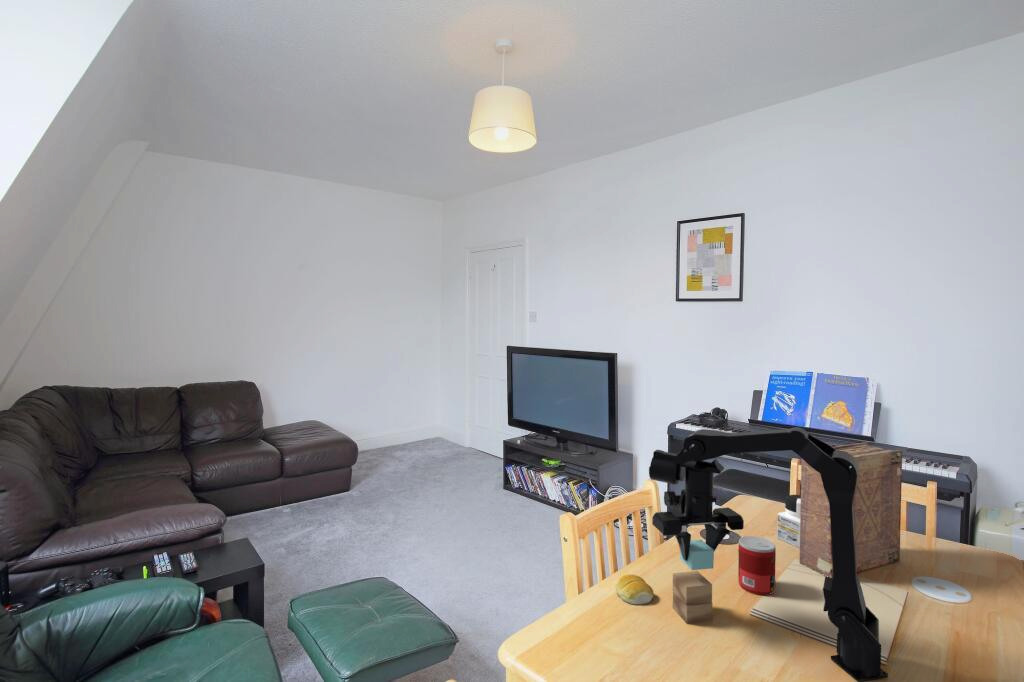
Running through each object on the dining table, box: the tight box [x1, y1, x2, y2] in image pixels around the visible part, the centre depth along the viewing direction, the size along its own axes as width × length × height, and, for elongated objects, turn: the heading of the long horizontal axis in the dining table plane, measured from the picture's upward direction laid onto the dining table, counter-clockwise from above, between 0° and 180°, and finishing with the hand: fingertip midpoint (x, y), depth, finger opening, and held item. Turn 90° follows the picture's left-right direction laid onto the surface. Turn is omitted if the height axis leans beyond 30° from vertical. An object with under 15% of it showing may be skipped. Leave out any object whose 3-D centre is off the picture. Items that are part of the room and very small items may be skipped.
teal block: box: [679, 539, 715, 571], centre depth 111 cm, size 5×5×4 cm
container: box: [776, 494, 801, 549], centre depth 148 cm, size 8×8×13 cm
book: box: [799, 441, 903, 579], centre depth 134 cm, size 25×9×30 cm, turn 111°
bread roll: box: [615, 574, 654, 605], centre depth 121 cm, size 8×9×4 cm
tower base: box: [672, 591, 713, 625], centre depth 112 cm, size 6×6×4 cm
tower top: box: [672, 570, 713, 605], centre depth 113 cm, size 6×6×4 cm
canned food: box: [737, 535, 777, 596], centre depth 123 cm, size 8×8×11 cm
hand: (696, 559), depth 111 cm, fingers closed on teal block, 5 cm apart
